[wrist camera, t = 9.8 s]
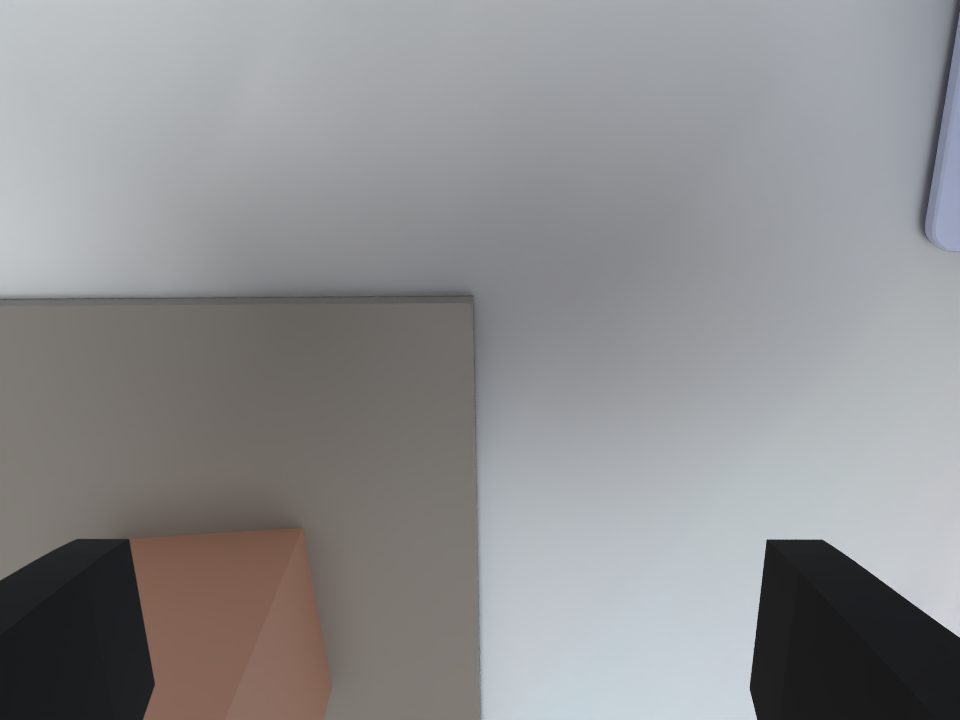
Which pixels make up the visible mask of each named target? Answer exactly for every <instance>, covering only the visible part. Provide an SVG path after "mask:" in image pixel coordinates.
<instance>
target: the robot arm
mask: <svg viewBox="0 0 960 720" xmlns="http://www.w3.org/2000/svg"><path fill="white" fill-rule="evenodd" d="M925 233H926V235H927V237H928V239H929V241H930V242H931V243H933V244H934V245H936V246H937V247H939V248H941V249H943V250H946V251H952V252H960V14H959V20H958V26H957V32H956V38H955V44H954V50H953V56H952V63H951V69H950V75H949V81H948V87H947V93H946V99H945V105H944V111H943V118H942V124H941V130H940V136H939V142H938V148H937V154H936V160H935V166H934V172H933V179H932V185H931V191H930V197H929V203H928V209H927V215H926V221H925ZM154 687H155V681H154V675H153V670H152V664H151V658H150V653H149V647H148V642H147V636H146V630H145V625H144V619H143V614H142V608H141V602H140V597H139V591H138V586H137V580H136V574H135V569H134V563H133V557H132V552H131V546H130V541H129V539H75V540H73V541H71V542H69V543H67V544H65V545H63V546H61V547H59V548H57V549H55V550H53V551H51V552H49V553H47V554H45V555H44V556H42V557H40V558H38V559H36V560H35V561H33V562H31V563H29V564H28V565H26V566H24V567H22V568H21V569H19V570H17V571H16V572H14V573H12V574H10V575H9V576H7V577H5V578H4V579H2V580H0V720H143V718H144V715H145V712H146V710H147V707H148V704H149V701H150V698H151V695H152V692H153V689H154ZM750 692H751V696H752V700H753V704H754V708H755V712H756V716H757V720H960V638H959V637H958V636H956V635H955V634H954V633H952V632H951V631H949V630H948V629H947V628H945V627H944V626H942V625H941V624H940V623H938V622H937V621H935V620H934V619H933V618H931V617H930V616H929V615H927V614H926V613H924V612H923V611H922V610H920V609H919V608H918V607H916V606H915V605H913V604H912V603H911V602H909V601H908V600H907V599H905V598H904V597H902V596H901V595H900V594H898V593H897V592H896V591H894V590H893V589H892V588H890V587H889V586H888V585H886V584H885V583H883V582H882V581H881V580H879V579H878V578H877V577H875V576H874V575H873V574H871V573H870V572H868V571H867V570H866V569H864V568H863V567H862V566H860V565H859V564H857V563H856V562H855V561H853V560H852V559H850V558H849V557H848V556H846V555H845V554H843V553H842V552H840V551H839V550H838V549H836V548H835V547H833V546H831V545H830V544H828V543H827V542H825V541H824V540H767V542H766V551H765V559H764V568H763V577H762V586H761V594H760V603H759V612H758V620H757V629H756V638H755V647H754V655H753V664H752V673H751V681H750Z"/></svg>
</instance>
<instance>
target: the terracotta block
mask: <svg viewBox="0 0 960 720" xmlns="http://www.w3.org/2000/svg"><path fill="white" fill-rule="evenodd" d="M129 541H130V546H131V552H132V557H133V563H134V569H135V574H136V580H137V586H138V591H139V597H140V602H141V608H142V614H143V619H144V625H145V630H146V636H147V642H148V647H149V653H150V658H151V664H152V670H153V675H154V681H155V687H154V689H153V692H152V695H151V698H150V701H149V704H148V707H147V710H146V712H145V715H144V718H143V720H323V719H324V716H325V712H326V708H327V704H328V700H329V696H330V693H331V689H332V685H331V680H330V674H329V669H328V663H327V658H326V652H325V647H324V641H323V636H322V630H321V625H320V619H319V614H318V608H317V603H316V597H315V592H314V586H313V581H312V575H311V570H310V564H309V559H308V553H307V548H306V542H305V537H304V531H303V528H290V529H275V530H259V531H243V532H228V533H212V534H196V535H181V536H165V537H150V538H134V539H129Z"/></svg>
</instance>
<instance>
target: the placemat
mask: <svg viewBox="0 0 960 720" xmlns="http://www.w3.org/2000/svg"><path fill="white" fill-rule="evenodd" d="M290 528H303V531H304V537H305V542H306V548H307V553H308V559H309V564H310V570H311V575H312V581H313V586H314V592H315V597H316V603H317V608H318V614H319V619H320V625H321V630H322V636H323V641H324V647H325V652H326V658H327V663H328V669H329V674H330V680H331V685H332V689H331V693H330V696H329V700H328V704H327V708H326V712H325V716H324V719H323V720H481V703H480V648H479V593H478V538H477V483H476V428H475V373H474V318H473V296H423V297H278V298H132V299H0V580H2V579H4V578H5V577H7V576H9V575H10V574H12V573H14V572H16V571H17V570H19V569H21V568H22V567H24V566H26V565H28V564H29V563H31V562H33V561H35V560H36V559H38V558H40V557H42V556H44V555H45V554H47V553H49V552H51V551H53V550H55V549H57V548H59V547H61V546H63V545H65V544H67V543H69V542H71V541H73V540H75V539H134V538H150V537H165V536H181V535H196V534H212V533H228V532H243V531H259V530H275V529H290Z"/></svg>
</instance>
